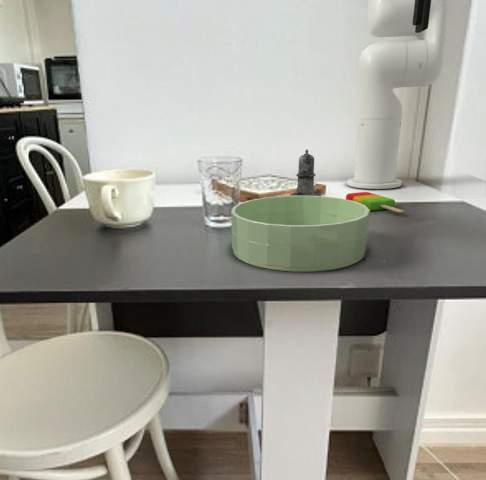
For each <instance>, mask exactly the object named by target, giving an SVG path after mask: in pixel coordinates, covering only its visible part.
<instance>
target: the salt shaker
mask: <svg viewBox="0 0 486 480" xmlns="http://www.w3.org/2000/svg"><path fill="white" fill-rule="evenodd" d="M309 152H310V151H309V150H308V149H305V151H304V154H302V155H300V156H299V158H298V171H297V173H296V177H297V185H296V190H295V191H294V192H292V193H290V194H289V195H288V196H297V195H306V196H322V194H321V193H319V192H317V191H316V189H315V186H314V184H315V181H314V180H315V177H316V173H315V157H314V156H313V155H312V154H311V153H309Z"/></svg>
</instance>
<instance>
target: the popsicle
mask: <svg viewBox="0 0 486 480" xmlns="http://www.w3.org/2000/svg"><path fill="white" fill-rule="evenodd" d="M345 199H346V200H351V201H355V202H358V203H360V204H363V205H365V206H366V207H367V208H368V209H369V210H370V212H372V211H380V210H389V211H392V212H395V213H399V214H401V213H402V214H403V213H404V211H405V210H403V209H400V208H397V207H395V205H396V200H395V199H393V198H391V197H387V196H383V195H379V194H377V193H373V192H370V191H360V192H350V193H349V192H348V193H347V194H346V196H345Z"/></svg>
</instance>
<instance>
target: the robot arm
mask: <svg viewBox="0 0 486 480" xmlns="http://www.w3.org/2000/svg"><path fill="white" fill-rule="evenodd" d="M447 10H448V0H367V12H366V13H367V15H366V17H367V20H366V21H367V30H368V32H369V34H370V35H371V36H373V37H377V38H397V37H416V38H417V39H409V40H390V41H389V40H387V41H380V42H379V41H378V42H375V43H372V44H369V45H368V46H367V47H365V48H364V49H363V50H362V51H361V53H360V56H359V59H358V82H359V83H358V84H359V105H358V106H359V108H358V111H359V112H358V123H357V135H356V147H355V148H356V149H355V162H354V174H353V177H351V178H348V179H347V181H346V182H347V186H349V187H351V188H356V189H363V190H390V189H396V188H399V187H401V186H402V182H403V181H402V180H401V179H399V178H396V173H397V164H398V154H399V145H400V138H401V129H402V121H403V120H402V119H403V106H402V103H401V101H400V99H399V98H398V96H397V95H396V94H395V92H394V90H393V89H399V88H417V87H419V88H420V87H427V86H431V85H433V84H434V83H436V82H437V80H438V79H439V78H440V76H441V73H442V70H443V65H444V58H445V57H444V55H445V44H446V43H445V42H446V29H447V28H446V27H447V13H448V11H447Z"/></svg>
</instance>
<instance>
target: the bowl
mask: <svg viewBox="0 0 486 480" xmlns="http://www.w3.org/2000/svg"><path fill="white" fill-rule="evenodd" d="M230 213H231V214H230V216H231V218H230V219H231V222H230V223H231V249H232V254H233V255H234V256H235V257H236V258H237V259H239V260H240V261H242V262H244V263H246V264H248V265H252V266H255V267H258V268H262V269H268V270H272V271H273V270H274V271H282V272H298V273H306V272H308V273H311V272H323V271H333V270H336V269H342V268H346V267H349V266H352V265H354V264H356V263H358V262H360V261H361V260H362V259H363V258H364V257H365V255H366V250H367V247H368V235H369V225H370V214H371V211H370V210H369V209H368V208H367V207H366V206H365V205H363V204H360V203H358V202H355V201H351V200H346V198H341V197H333V196H326V195H325V196H324V195H321V196H306V195H297V196H289V195H277V196H266V197H259V198H254V199H250V200H247V201H243V202H240V203H238V204H236V205H234V206H232V208H231V211H230Z"/></svg>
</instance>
